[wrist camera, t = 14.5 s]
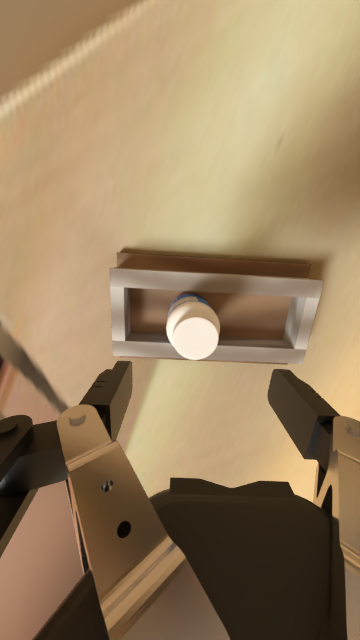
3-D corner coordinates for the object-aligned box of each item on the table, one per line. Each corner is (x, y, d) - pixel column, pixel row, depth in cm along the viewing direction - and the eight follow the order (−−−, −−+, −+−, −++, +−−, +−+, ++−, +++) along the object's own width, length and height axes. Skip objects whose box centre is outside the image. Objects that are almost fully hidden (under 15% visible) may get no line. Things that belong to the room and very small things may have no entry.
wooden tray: (119, 252, 25) (108, 251, 21) (305, 264, 26) (328, 264, 22) (121, 353, 29) (113, 368, 25) (283, 361, 30) (299, 375, 26)
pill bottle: (214, 324, 27) (234, 358, 18) (176, 336, 27) (176, 376, 18) (202, 286, 26) (217, 301, 16) (162, 299, 26) (155, 321, 17)
